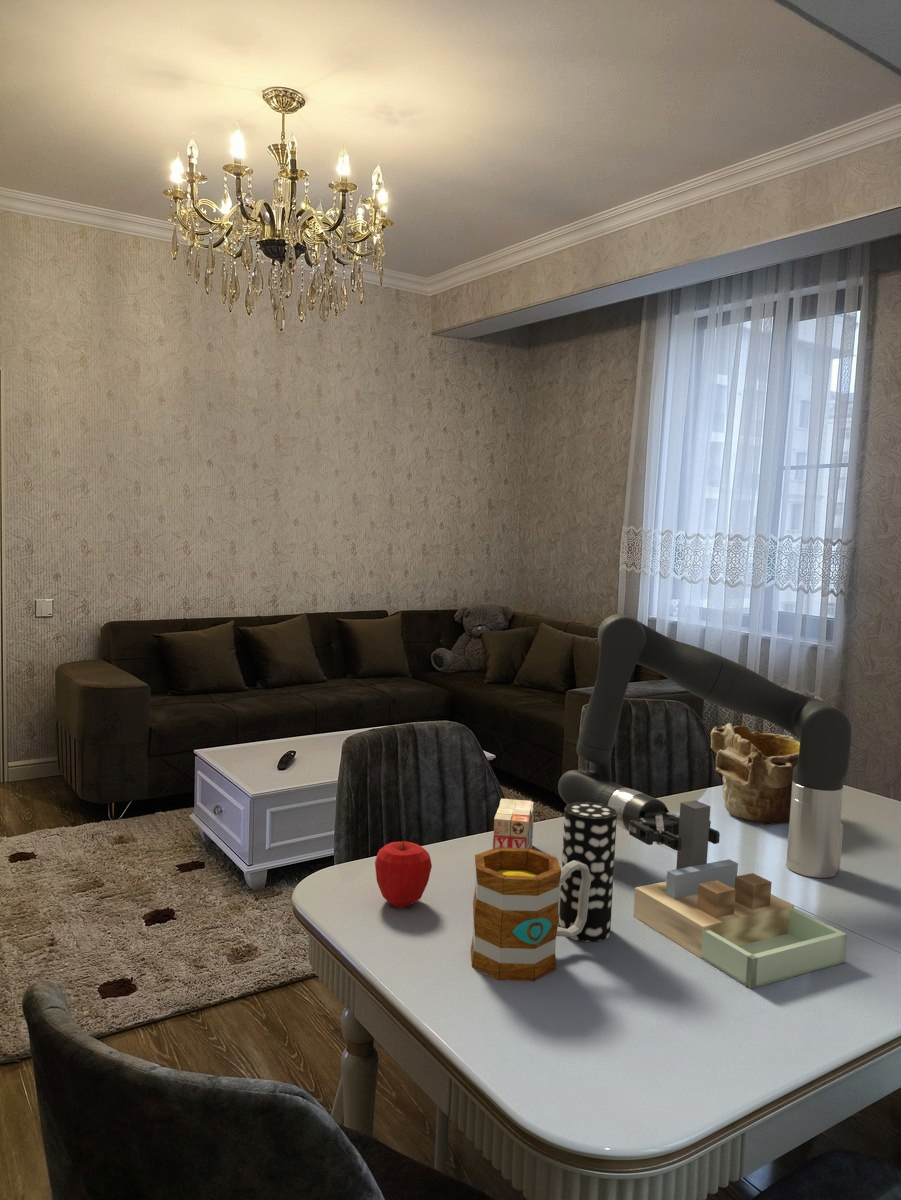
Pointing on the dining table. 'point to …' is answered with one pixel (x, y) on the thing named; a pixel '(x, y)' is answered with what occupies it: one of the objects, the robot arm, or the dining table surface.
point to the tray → (777, 952)
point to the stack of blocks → (513, 824)
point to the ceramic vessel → (755, 772)
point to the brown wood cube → (752, 891)
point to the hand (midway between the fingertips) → (699, 841)
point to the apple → (402, 872)
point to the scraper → (696, 854)
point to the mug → (521, 912)
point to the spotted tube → (595, 847)
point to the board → (708, 918)
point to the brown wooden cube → (716, 899)
